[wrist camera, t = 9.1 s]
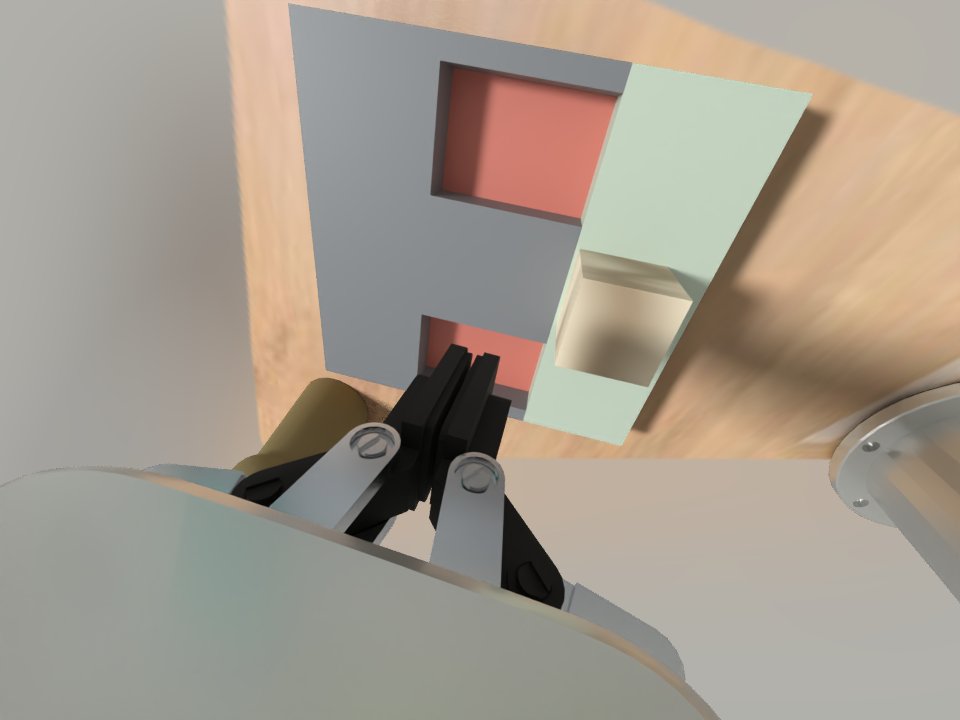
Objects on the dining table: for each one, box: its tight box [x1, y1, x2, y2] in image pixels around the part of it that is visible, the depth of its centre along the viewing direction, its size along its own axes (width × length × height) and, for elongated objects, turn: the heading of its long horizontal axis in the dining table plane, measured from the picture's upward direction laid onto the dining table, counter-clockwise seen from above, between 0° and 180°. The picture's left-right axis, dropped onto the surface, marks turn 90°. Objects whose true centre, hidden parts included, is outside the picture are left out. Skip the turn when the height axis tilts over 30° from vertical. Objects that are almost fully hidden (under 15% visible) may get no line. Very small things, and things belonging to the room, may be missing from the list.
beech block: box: [555, 249, 693, 387], centre depth 18 cm, size 4×4×4 cm
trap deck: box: [288, 3, 813, 446], centre depth 21 cm, size 22×20×2 cm
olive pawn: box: [232, 378, 368, 476], centre depth 28 cm, size 6×6×11 cm
